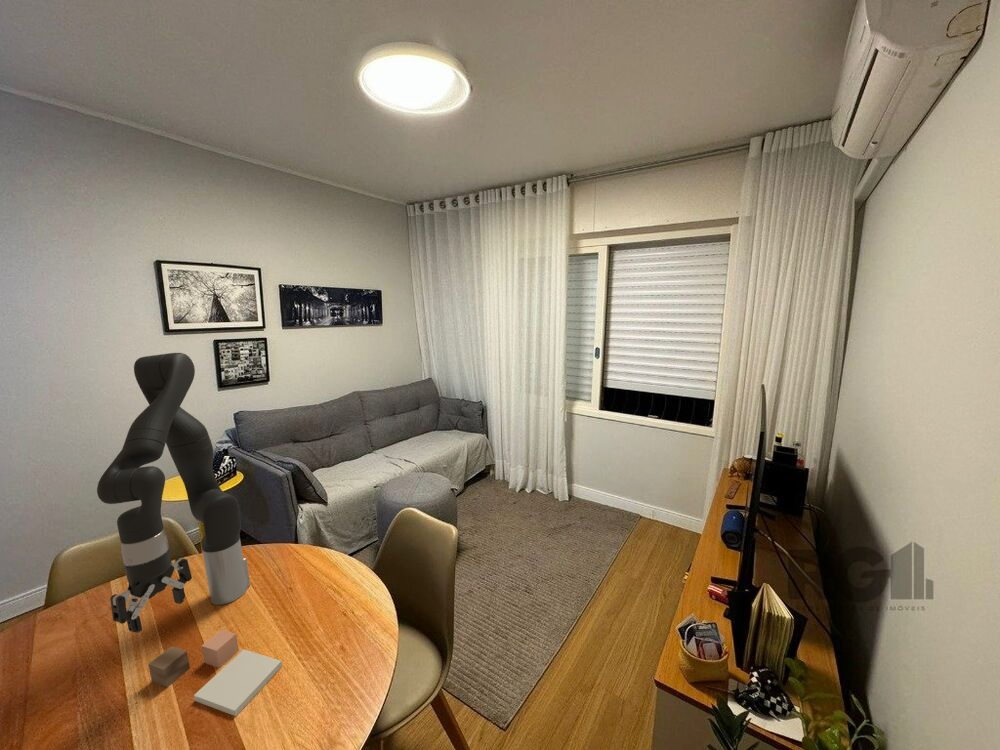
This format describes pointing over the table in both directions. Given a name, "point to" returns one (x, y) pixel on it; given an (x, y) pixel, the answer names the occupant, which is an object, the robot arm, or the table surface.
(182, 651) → the walnut brick
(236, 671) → the base plate
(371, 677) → the table surface
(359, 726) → the table surface
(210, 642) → the pink cube
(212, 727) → the table surface
